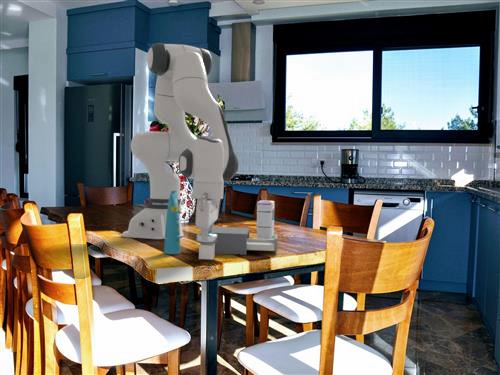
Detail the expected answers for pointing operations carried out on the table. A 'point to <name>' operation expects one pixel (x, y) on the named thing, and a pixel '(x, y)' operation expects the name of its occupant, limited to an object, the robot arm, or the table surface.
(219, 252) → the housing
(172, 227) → the tube
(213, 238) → the disc
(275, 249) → the tray
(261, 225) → the syrup box
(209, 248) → the block
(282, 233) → the table surface
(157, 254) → the table surface
